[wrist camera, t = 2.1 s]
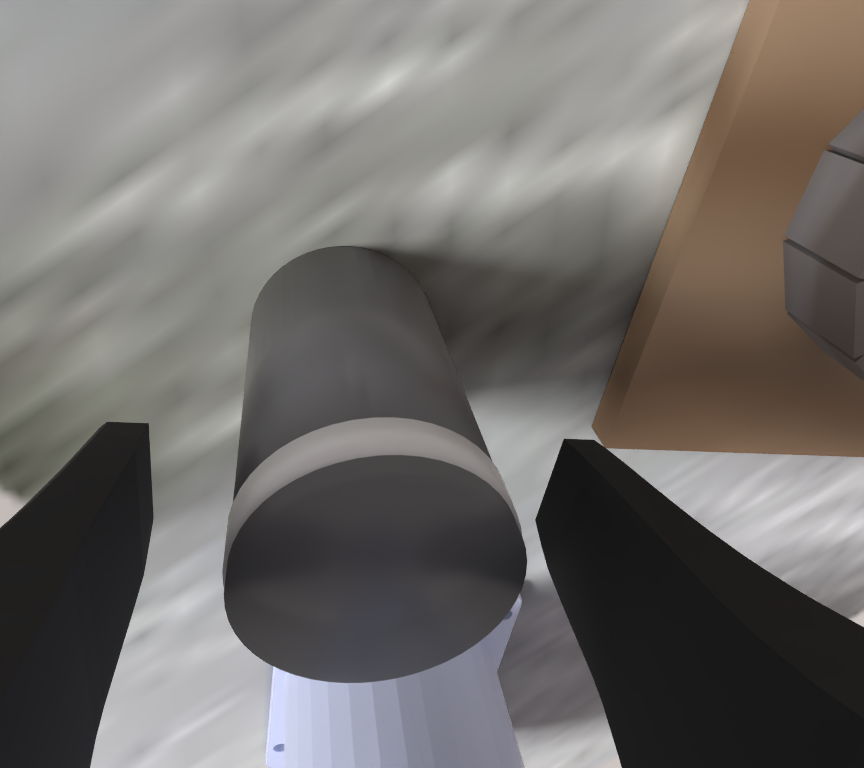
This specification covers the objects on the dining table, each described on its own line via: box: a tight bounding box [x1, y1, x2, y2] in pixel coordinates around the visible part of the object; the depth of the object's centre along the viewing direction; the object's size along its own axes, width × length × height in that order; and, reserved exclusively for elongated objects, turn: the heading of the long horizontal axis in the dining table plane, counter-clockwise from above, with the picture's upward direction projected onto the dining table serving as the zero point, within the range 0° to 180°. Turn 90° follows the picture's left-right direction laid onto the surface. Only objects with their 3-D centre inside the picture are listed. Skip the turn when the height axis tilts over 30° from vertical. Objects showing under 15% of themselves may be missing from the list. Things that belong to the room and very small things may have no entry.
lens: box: [223, 246, 527, 683], centre depth 13 cm, size 4×4×8 cm
